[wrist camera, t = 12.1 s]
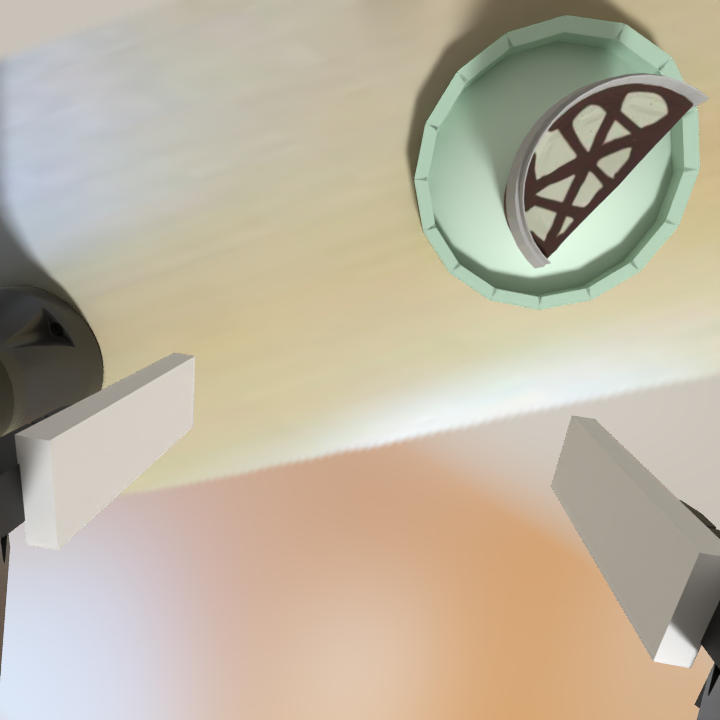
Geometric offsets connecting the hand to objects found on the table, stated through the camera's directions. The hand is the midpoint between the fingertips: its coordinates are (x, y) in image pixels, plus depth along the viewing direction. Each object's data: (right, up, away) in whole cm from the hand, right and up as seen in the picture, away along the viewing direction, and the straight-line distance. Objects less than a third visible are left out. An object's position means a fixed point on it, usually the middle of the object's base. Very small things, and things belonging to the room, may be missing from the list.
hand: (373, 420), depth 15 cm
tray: (+14, +17, +20) cm, 30 cm away
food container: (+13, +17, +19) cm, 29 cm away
